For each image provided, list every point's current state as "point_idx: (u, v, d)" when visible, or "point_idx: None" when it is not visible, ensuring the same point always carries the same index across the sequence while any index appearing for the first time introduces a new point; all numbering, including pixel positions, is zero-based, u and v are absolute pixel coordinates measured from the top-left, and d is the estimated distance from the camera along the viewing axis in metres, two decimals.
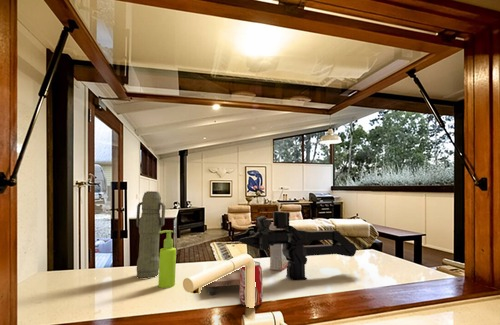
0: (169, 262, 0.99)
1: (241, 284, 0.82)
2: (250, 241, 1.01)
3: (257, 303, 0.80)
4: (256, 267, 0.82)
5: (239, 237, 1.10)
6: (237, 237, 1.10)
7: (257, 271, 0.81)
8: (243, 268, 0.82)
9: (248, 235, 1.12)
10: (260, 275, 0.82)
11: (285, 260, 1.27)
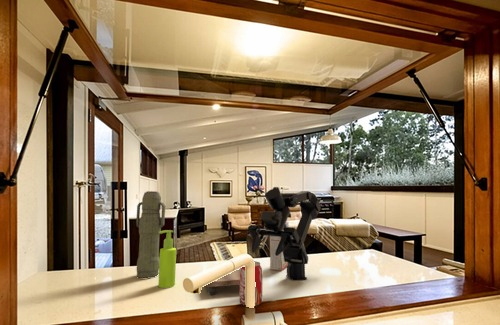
0: (169, 262, 0.99)
1: (241, 284, 0.82)
2: (283, 246, 0.91)
3: (257, 303, 0.80)
4: (256, 267, 0.82)
5: (255, 246, 0.96)
6: (255, 248, 0.95)
7: (257, 271, 0.81)
8: (243, 268, 0.82)
9: (258, 236, 0.98)
10: (260, 275, 0.82)
11: None
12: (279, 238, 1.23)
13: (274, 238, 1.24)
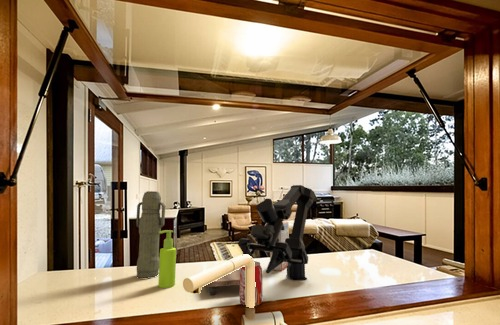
0: (169, 262, 0.99)
1: (241, 284, 0.82)
2: (275, 263, 0.85)
3: (257, 303, 0.80)
4: (256, 267, 0.82)
5: None
6: None
7: (257, 271, 0.81)
8: (243, 268, 0.82)
9: (248, 251, 0.93)
10: (260, 275, 0.82)
11: None
12: (279, 238, 1.23)
13: None
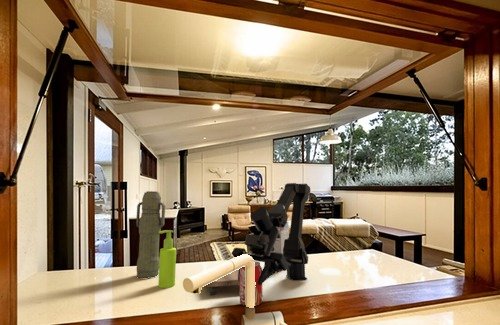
0: (169, 262, 0.99)
1: (241, 284, 0.82)
2: (267, 273, 0.83)
3: (257, 303, 0.80)
4: (256, 267, 0.82)
5: None
6: None
7: (257, 271, 0.81)
8: (243, 268, 0.82)
9: None
10: None
11: None
12: (279, 238, 1.23)
13: None
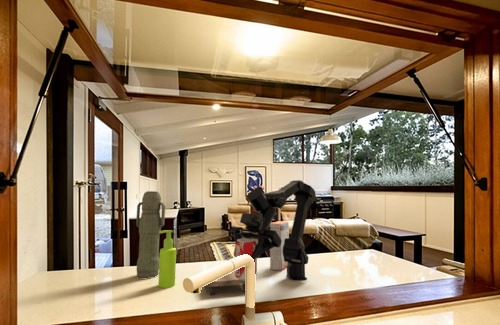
0: (169, 262, 0.99)
1: None
2: (260, 249, 0.86)
3: None
4: (250, 243, 0.86)
5: None
6: None
7: (251, 247, 0.85)
8: (237, 244, 0.86)
9: None
10: None
11: None
12: None
13: None
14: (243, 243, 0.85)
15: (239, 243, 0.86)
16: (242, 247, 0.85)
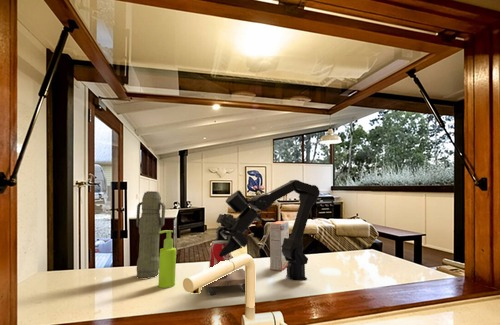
0: (169, 262, 0.99)
1: None
2: (229, 248, 0.93)
3: None
4: (219, 244, 0.95)
5: None
6: None
7: (219, 248, 0.95)
8: (211, 244, 0.98)
9: (222, 237, 1.04)
10: None
11: (285, 260, 1.27)
12: (279, 238, 1.23)
13: (274, 238, 1.24)
14: (213, 244, 0.96)
15: (211, 244, 0.97)
16: (212, 248, 0.96)
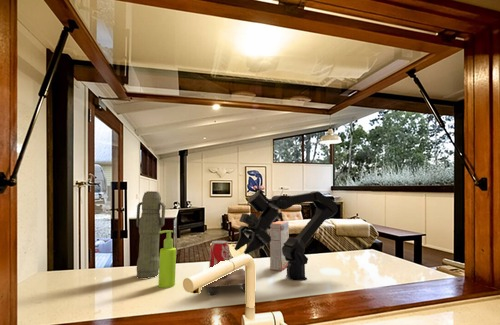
0: (169, 262, 0.99)
1: None
2: (253, 245, 0.98)
3: None
4: (219, 244, 0.95)
5: (239, 244, 1.06)
6: (238, 246, 1.06)
7: (219, 248, 0.95)
8: (211, 244, 0.98)
9: (244, 236, 1.08)
10: (222, 252, 0.95)
11: (285, 260, 1.27)
12: (279, 238, 1.23)
13: (274, 238, 1.24)
14: (213, 244, 0.96)
15: (211, 244, 0.97)
16: (212, 248, 0.96)
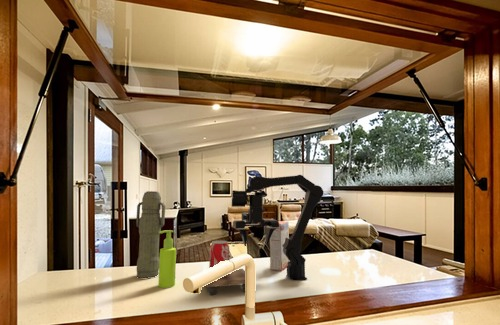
0: (169, 262, 0.99)
1: None
2: (242, 236, 1.10)
3: None
4: (219, 244, 0.95)
5: (266, 238, 1.13)
6: (266, 241, 1.12)
7: (219, 248, 0.95)
8: (211, 244, 0.98)
9: (267, 228, 1.14)
10: (222, 252, 0.95)
11: (285, 260, 1.27)
12: (279, 238, 1.23)
13: (274, 238, 1.24)
14: (213, 244, 0.96)
15: (211, 244, 0.97)
16: (212, 248, 0.96)
